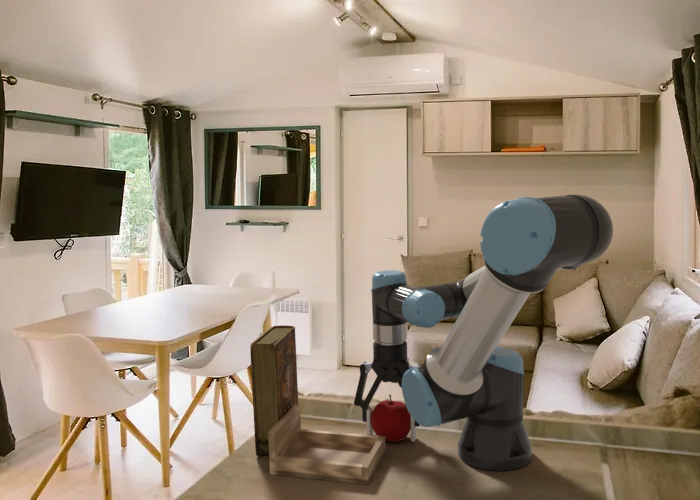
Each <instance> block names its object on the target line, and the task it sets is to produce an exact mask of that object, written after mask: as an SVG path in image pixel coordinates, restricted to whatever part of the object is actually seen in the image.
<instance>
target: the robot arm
mask: <svg viewBox="0 0 700 500" xmlns="http://www.w3.org/2000/svg"><path fill="white" fill-rule="evenodd" d="M613 234H614V225H613V220H612V218H611V215H610V213H609V212H608V210H607V209H606V208H605V207H604V205H603V204H601V202H599V201H598V200H596V199H594V198H592V197H589V196H586V195H583V194H567V195H556V196H548V197H545V196H544V197H532V196H523V197H518V198H514V199H511V200H505V201H504V202H501V203H499V204H497V205H496V206H495V207H494V208H492V209H491V210H490V211H489V213H488V214H487V215H486V217H485V219H484V221H483V223H482V226H481V230H480V237H482V240H481V241H480V243H479V245H480V251H481V254H482V261H483V266H482V267H480V268H478V269H476V270H474V271H473V272H471V273H470V274H469V275H466V276H465V277H464V278H461V279H460V280H457V281H452V282H446V283H439V284H433V285H425V286H424V285H423V286H413V285H410V284H408V281H407V276H406V273H405V272H404V271H400V270H391V269H390V270H381V271H380V270H379V271H377V272H375V273H374V274H373V275H372V276H371V277H372V281H371V289H370V291H371V310H372V311H371V312H372V314H371V315H372V339H373V342H372V351H373V352H372V353H373V354H372V355H373V357H372V359H373V360H372V362H367V361H363V362H362V363H361V364H360V365H359V375H360V376H359V379H358V384H357V388H356V393H355V397H354V401H353V404H354V406H355V407H359V408H361V409H362V413H361V414H362V417H361V418H362V423H366V435H373V434H374V430H373V428H372V424H371V416H372V412H373V410H374V408H373V405H370V403H371V402H372V400H373V398H374V396H375V395H376V393H377V390H378V388H379V387H380V385H381V383H382V382H383V383H389V382H390V383H392V384H397V385H398V386H399V388H400V389H401V393H402V396H403V397H402V398H403V401H404V404H406V407H407V409H408V411H409V413H410V415H411V429H410V442H412V443H415V442H416V440H417V436H418V435H417V428H418V427H420V426H421V427H425V428H431V427H440V426H442V425H445V424H449V423H452V422H455V421H458V420H459V421H460V420H463V419H465V421H464V422H465V423H464V425H463V427H462V430H461V433H460V437H459V440H458V442H457V443H458V444H457V445H458V446H457V447H458V448H457V449H458V450H457V454H458V455H457V456H458V457H459V458H460V459H461V461H462V462H464V463H465V464H466V465H467V464H468V465H469V466H471V467H475V468H478V469H481V470H487V471H498V472H502V471H503V472H504V471H513V470H518V469H521V468H523V467H525V466H527V465H528V464H529V463H531V460H532V454H533V453H532V452H533V451H532V450H533V449H532V444H531V441H530V438H529V436H528V432H527V430H526V427H525V422H524V394H525V393H524V389H525V388H524V387H525V386H524V383H525V380H524V379H525V371H524V359H523V356H522V355H521V354H520V352H518V351H515V350H513V349H510V348H508V347H507V348H506V347H504V346H503V347H502V346H498V345H499V344H500V342H501V340H502V339H503V337H505V334H506V333H507V332H508V330H509V328H510V326H512V323H513V322H514V320H515V319H516V317H517V316H518V314H519V312H520V310H522V308H523V306H524V304H525V303H526V302H527V300H528V298H529V297H530V295H531V294H538V293H540V292H542V291H544V289H546V287H547V286H548V285H549V283H550V281H551V280H552V278H553V277H554V276H555V274H556V272H558V271H561V270H564V271H572V270H575V269H577V268H580V267H581V266H585V265H586V264H589V263H591V262H594V261H595V260H597V259H599V258H601V256H603V255H604V254H605V253H606V251H607V250H608V249H609V247H610V245H611V243H612V239H613V237H614V235H613ZM453 318H456V321H455V322H454V323H453V326H452V327H451V330H450V331H449V333H448V334H447V337H446V338H445V340H444V342H443V343H442V345H440V346H439V345H438V346H436V347H434V348H433V349H431V350H430V351H429V352H428V354H427V356H426V358H425V359H424V361H423V363H422V364H417V365H412V364H410V363H409V360H408V342H407V341H406V340H407V339H408V324H410V325H411V326H415V327H419V328H425V329H430V328H433V327H435V326H436V325H438V324H440V322H441V321H443V320H449V319H453ZM371 370H373V371H374V373H375V375H376V377H375V380H374V381H373V384H372V385H371V388H370V389H369V391H368V393H367V395H366V397H365V398H364V399H363V397H364V392H365V389H366V388H365V387H366V383H367V379H368V375H369V373H370V372H371Z"/></svg>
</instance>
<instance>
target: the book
mask: <svg viewBox="0 0 700 500" xmlns="http://www.w3.org/2000/svg"><path fill="white" fill-rule="evenodd" d="M249 346H250V370H251V387H252V388H251V389H252V403H253V404H252V407H253V425H254V428H253V429H254V443H255V447H254V448H255V449H254V450H255V455H256V457H260V456H269V438H268V431H269V430H270V429H271V428H272V427H273V426H274V425H275V424H276V423H277V422H278V421H279V420H280V419H281V418H282V417H283V416H284V415H285V414H286V413H287V412H288V411H289V410H290V409H291V408H292V407H293V406H294V405H299V390H298V389H299V388H298V387H299V386H298V369H297V368H298V367H297V366H298V365H297V343H296V326H294V325H293V326H292V325H273V326H271V327H269V328H268V329H267V330H266V331H265V332H264V333H262V334H261V335H259V336H258V337H257V338H256V339H255V340H253V342H251V343H250V345H249Z"/></svg>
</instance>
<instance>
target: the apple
mask: <svg viewBox="0 0 700 500" xmlns="http://www.w3.org/2000/svg"><path fill="white" fill-rule="evenodd" d="M388 397H389V400H382V401H380V402H378V403H377V404H376V405H375V406H374V408H373V412H372V416H371V424H372V428H373V433H374V435H375V436H385V442H391V443H396V442H400V441H402V440H404V439H405V438H406V437H407V436H408V435H409V433H410V432H411V415H410V413H409V411H408V409H407V407H406V404H405V402H403V401H399V400H392V395H391V394H388Z"/></svg>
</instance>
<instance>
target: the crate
mask: <svg viewBox="0 0 700 500" xmlns="http://www.w3.org/2000/svg"><path fill="white" fill-rule="evenodd" d="M301 413H302V412H301V404H298V405H294V406H293V407H292V408H291V409H290V410H289V411H288V412H287V413H286V414H285V415H284V416H283V417H282V418H281V419H280V420H279V421H278V422H277V423H276V424H275V425H274V426H273V427H272V428H271V429H270V430H269V431H268V438H269V455H268V456H269V460H268V461H269V474H270V475H275V476H282V477H283V476H284V477H292V476H293V477H294V478H301V477H304V479H310V478H316V479H315V480H319V479H327V480H326V481H329V480H334V481H333V482H338V481H340V482H339V483H347V482H349V483H348V484H356V483H357V484H356V485H365V484H367V486H369V485H368V484H369V483H370V481H371V479H372V477H373V476H374V474H375V472H376V470H377V468H378V466H379V464H380V463H381V461H382V459H383V457H384V455H385V453H386V452H387V451H386V449H387V448H386V441H385V436H377V435H376V434H374V435H373V434H372V435H367V434H364V433H352V432H351V433H350V432H342V431H341V432H340V431H329V430H318V429H309V428H308V429H305V428H302V420H301V419H302V415H301Z"/></svg>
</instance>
